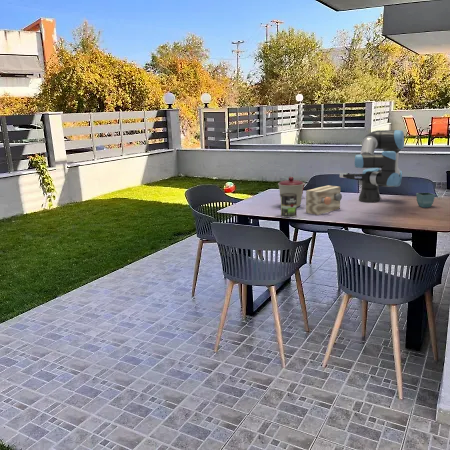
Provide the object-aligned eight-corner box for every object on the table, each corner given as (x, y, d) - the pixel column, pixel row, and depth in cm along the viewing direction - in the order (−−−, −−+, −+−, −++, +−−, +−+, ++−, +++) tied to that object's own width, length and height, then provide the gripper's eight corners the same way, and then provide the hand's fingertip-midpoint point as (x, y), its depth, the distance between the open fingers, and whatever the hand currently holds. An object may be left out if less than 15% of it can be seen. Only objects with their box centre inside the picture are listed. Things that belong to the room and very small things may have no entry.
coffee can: (299, 216, 290) (299, 195, 286) (284, 218, 287) (284, 196, 284) (292, 213, 299) (292, 192, 296) (278, 215, 297) (278, 193, 293)
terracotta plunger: (311, 202, 298) (311, 195, 297) (316, 201, 301) (316, 194, 300) (326, 205, 289) (326, 197, 288) (331, 204, 293) (331, 196, 291)
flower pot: (414, 205, 308) (415, 192, 306) (427, 205, 309) (428, 192, 307) (421, 208, 300) (422, 195, 298) (434, 207, 300) (435, 194, 298)
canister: (273, 207, 320) (272, 177, 314) (287, 202, 332) (287, 174, 327) (294, 210, 308) (294, 179, 302) (309, 205, 320) (309, 176, 315)
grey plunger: (322, 199, 308) (322, 192, 307) (326, 198, 311) (326, 191, 310) (337, 201, 300) (337, 194, 298) (341, 200, 303) (341, 193, 301)
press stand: (305, 212, 300) (306, 190, 296) (327, 206, 315) (328, 185, 312) (318, 215, 293) (318, 192, 289) (339, 208, 308) (340, 186, 304)
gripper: (365, 184, 261) (333, 181, 279) (379, 183, 269) (346, 180, 287) (366, 171, 259) (333, 169, 278) (380, 171, 267) (347, 168, 286)
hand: (340, 175), depth 282 cm, fingers closed
